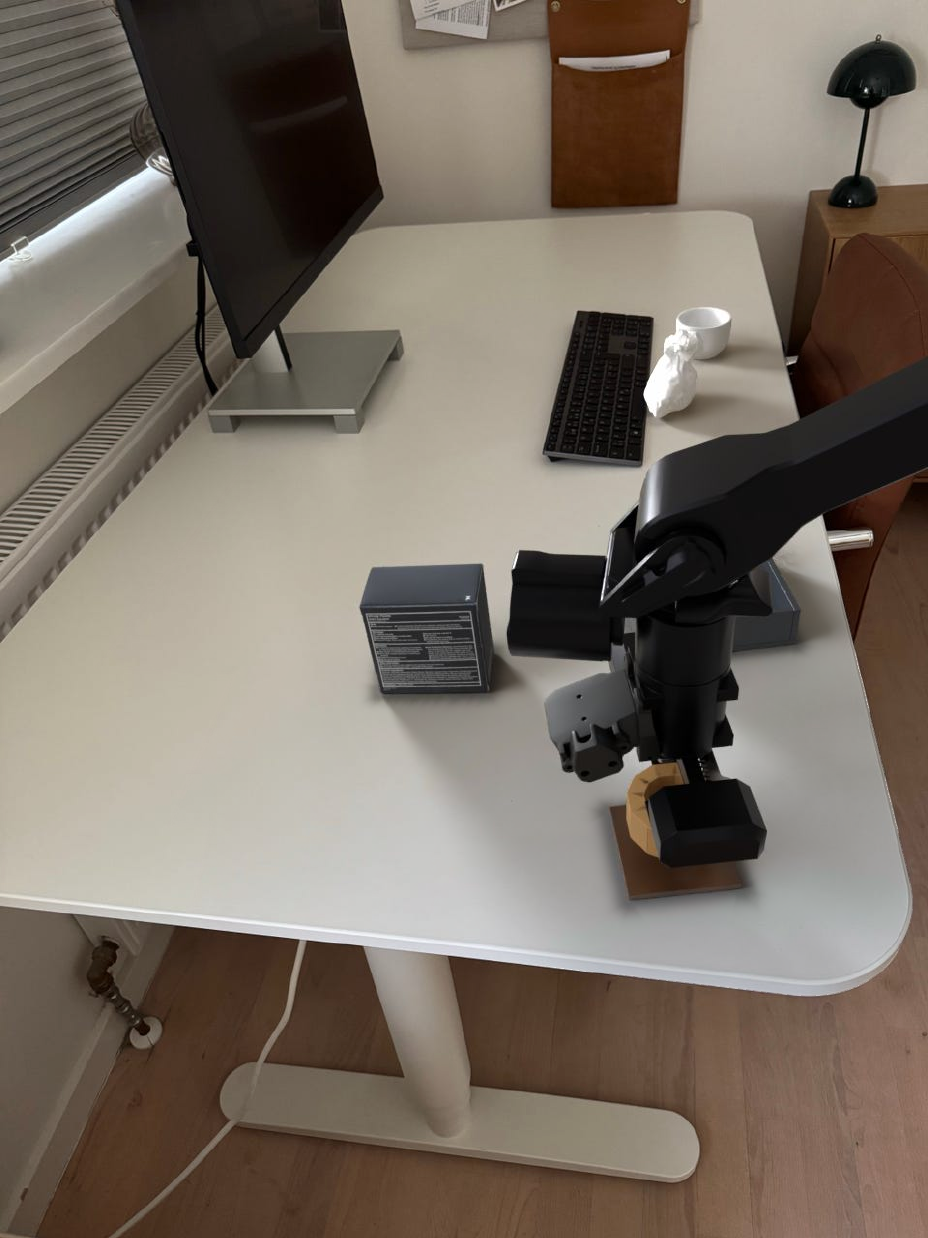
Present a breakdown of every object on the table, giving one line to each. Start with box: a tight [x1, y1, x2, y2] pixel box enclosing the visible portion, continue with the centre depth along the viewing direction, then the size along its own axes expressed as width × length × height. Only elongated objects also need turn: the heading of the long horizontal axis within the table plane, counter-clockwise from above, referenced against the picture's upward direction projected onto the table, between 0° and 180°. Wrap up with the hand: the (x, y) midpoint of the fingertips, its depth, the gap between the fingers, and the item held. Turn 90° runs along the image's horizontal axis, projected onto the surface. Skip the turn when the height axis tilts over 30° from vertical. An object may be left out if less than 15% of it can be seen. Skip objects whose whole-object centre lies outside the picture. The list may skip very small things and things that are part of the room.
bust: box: [643, 329, 704, 419], centre depth 117 cm, size 12×8×11 cm
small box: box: [358, 563, 495, 694], centre depth 81 cm, size 11×6×10 cm, turn 84°
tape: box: [625, 762, 706, 857], centre depth 64 cm, size 6×6×3 cm
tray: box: [627, 557, 802, 652], centre depth 86 cm, size 14×14×4 cm
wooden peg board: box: [608, 804, 742, 901], centre depth 65 cm, size 8×8×6 cm
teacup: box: [675, 306, 732, 360], centre depth 130 cm, size 10×8×5 cm
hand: (673, 814), depth 64 cm, fingers closed on tape, 6 cm apart
